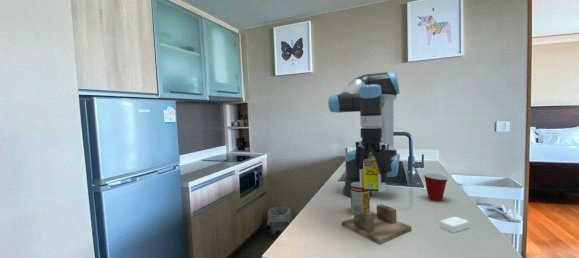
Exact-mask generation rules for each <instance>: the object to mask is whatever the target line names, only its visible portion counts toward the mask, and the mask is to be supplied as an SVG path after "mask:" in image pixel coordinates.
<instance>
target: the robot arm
mask: <svg viewBox="0 0 579 258" xmlns="http://www.w3.org/2000/svg"><path fill="white" fill-rule="evenodd" d="M399 94H401V92H400V84H399V79H398V74H397V73H396V71H385V72H378V73H377V72H375V73H365V74H363V75H360V76H357V77H355V78H354V79H352V80H351V81H350V82H349V83H348V85H347V87H346V88H345V89H343V90H342V91H341V93H339V94H336V93H335V94H331V95H330V96H329V98H328V101H327V103H328V104H327V105H328V110H329V111H330V112H331V113H337V114H339V113H353V112H354V113H356V112H358V113H359V116H360V119H359V120H360V121H359V122H360V123H359V124H360V127H361V128H360V131H359V132H360V138H361V140H360V141H356V142H355V150H352V151H348V152H347V153H346V154H345V159H344V160H345V162H344V163H345V183H344V187H343V188H342V194H343V195H344V196H345V197H348V198H351V183H354V182H360V186H364V184H363V160H364V159H375V160H376V162H377V165H378V168H379V171H380V173H378V190H379V191H378V192H380V193H381V192H385V191H386V183H387V182H388V181H387V178H388V177H389V178H392V177H393V178H394V177H397V175H398V172H399V168H400V167H399V166H400V160H401V159H400V158H401V154H400V153H398V152H397V149H396V148H395V146H394V102H395V100H396V99H397V97H398V96H397V95H399ZM372 196H373V191H369V197H372Z"/></svg>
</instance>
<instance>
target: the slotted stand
mask: <svg viewBox="0 0 579 258" xmlns="http://www.w3.org/2000/svg"><path fill="white" fill-rule="evenodd" d="M341 226H342V227H344V226H345V228H346V227H347V228H346V229H348V228H349V230H350V229H351V230H350V231H352V232H354V231H355V233H356V232H357V233H356V234H358V235H360V234H361V236H362V235H363V237H364V236H365V237H364V238H366V237H367V239H368V238H369V240H370V239H371V240H370V241H372V240H373V242H374V241H375V242H374V243H377V244H378V243H379V245H381V244H382V245H383V244H384V243H387V242H389V241H391V240H393V239H396V238H399V237H400V236H402V235H405V234H408V233H409V232H411V231H412V226H411V225H409V224H405V223H403V222H402V221H401V222H400V221H398V220H397V209H396V208H394V207H391V206H388V205H385V204H377V205H376V212H374V211H370V212H369V213H366V214H365V213H362V212H360V211H358V212H354V213H353V217H352V218H349V219H345V220H342V221H341ZM386 241H387V242H386Z"/></svg>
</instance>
